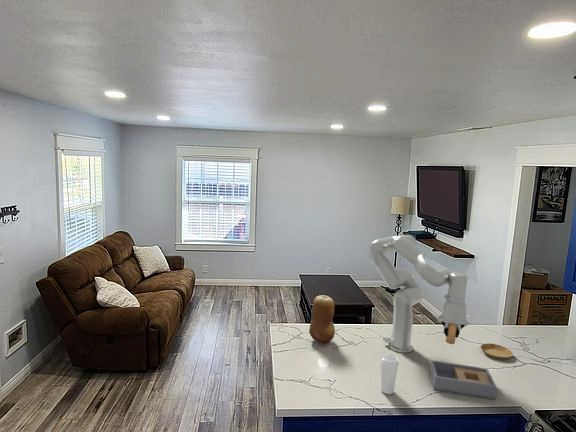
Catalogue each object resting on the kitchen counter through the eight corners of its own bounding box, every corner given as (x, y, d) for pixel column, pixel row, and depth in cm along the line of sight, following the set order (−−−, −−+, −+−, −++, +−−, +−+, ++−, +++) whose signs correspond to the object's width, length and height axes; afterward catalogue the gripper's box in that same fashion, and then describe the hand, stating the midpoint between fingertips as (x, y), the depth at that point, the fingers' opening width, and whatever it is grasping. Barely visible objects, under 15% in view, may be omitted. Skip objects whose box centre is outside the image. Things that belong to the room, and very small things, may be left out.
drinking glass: (377, 386, 171) (379, 354, 169) (392, 386, 171) (395, 354, 169) (382, 396, 164) (384, 362, 162) (397, 396, 165) (400, 362, 163)
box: (433, 390, 170) (435, 377, 169) (430, 372, 185) (431, 360, 184) (494, 400, 165) (496, 386, 164) (486, 381, 179) (487, 368, 178)
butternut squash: (338, 341, 213) (341, 296, 210) (327, 350, 202) (329, 303, 198) (315, 334, 220) (318, 290, 217) (303, 342, 209) (305, 297, 206)
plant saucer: (518, 361, 199) (519, 356, 199) (492, 362, 197) (493, 357, 197) (498, 347, 214) (499, 342, 213) (474, 348, 211) (474, 343, 211)
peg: (446, 343, 187) (449, 323, 186) (445, 339, 191) (447, 320, 190) (455, 344, 186) (458, 324, 185) (453, 341, 190) (456, 321, 189)
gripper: (438, 299, 184) (433, 336, 187) (476, 304, 180) (471, 342, 183) (436, 294, 191) (431, 329, 194) (473, 299, 187) (468, 335, 190)
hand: (451, 335), depth 188 cm, fingers closed on peg, 4 cm apart
